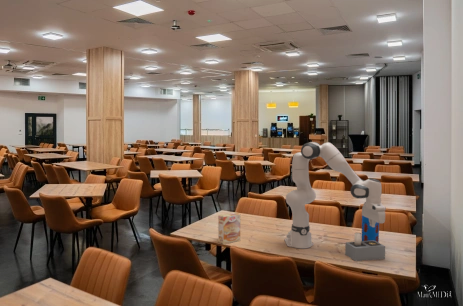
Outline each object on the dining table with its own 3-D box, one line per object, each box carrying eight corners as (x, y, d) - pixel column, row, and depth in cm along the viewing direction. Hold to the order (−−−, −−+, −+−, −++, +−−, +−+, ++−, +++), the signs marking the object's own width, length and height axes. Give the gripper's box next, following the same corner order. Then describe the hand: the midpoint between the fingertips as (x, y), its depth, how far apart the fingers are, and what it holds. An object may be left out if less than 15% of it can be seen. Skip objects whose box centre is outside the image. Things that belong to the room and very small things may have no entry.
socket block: (355, 261, 224) (355, 247, 223) (345, 254, 236) (345, 241, 235) (384, 258, 228) (385, 245, 227) (373, 252, 240) (374, 239, 239)
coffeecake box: (223, 244, 256) (223, 216, 255) (217, 242, 262) (217, 214, 261) (240, 240, 265) (240, 213, 264) (235, 238, 271) (234, 212, 269)
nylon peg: (353, 245, 232) (353, 232, 231) (358, 245, 233) (359, 232, 232) (356, 247, 228) (356, 234, 227) (362, 247, 229) (362, 234, 228)
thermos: (372, 250, 244) (373, 212, 242) (358, 246, 252) (358, 210, 251) (381, 247, 250) (382, 210, 248) (367, 243, 259) (368, 207, 257)
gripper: (359, 201, 240) (358, 222, 241) (378, 208, 220) (377, 231, 221) (368, 201, 241) (367, 221, 242) (387, 208, 221) (386, 231, 223)
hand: (372, 226), depth 232 cm, fingers closed
